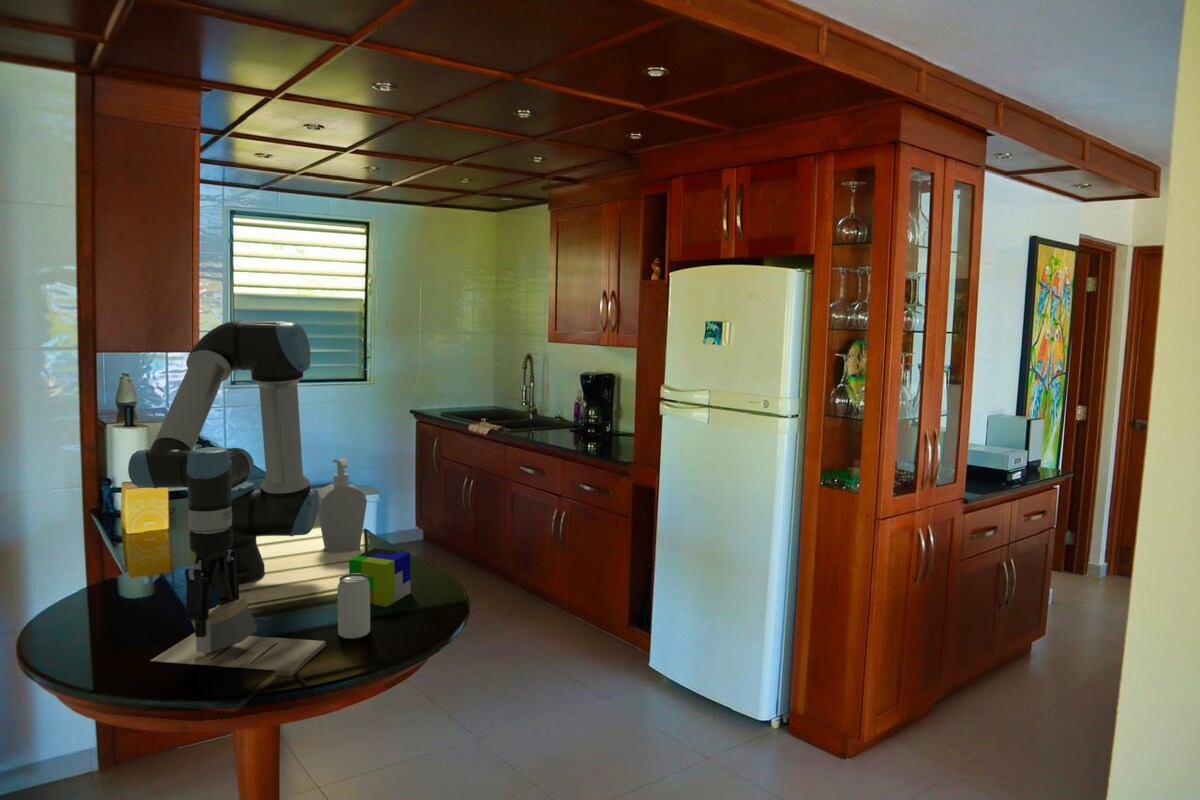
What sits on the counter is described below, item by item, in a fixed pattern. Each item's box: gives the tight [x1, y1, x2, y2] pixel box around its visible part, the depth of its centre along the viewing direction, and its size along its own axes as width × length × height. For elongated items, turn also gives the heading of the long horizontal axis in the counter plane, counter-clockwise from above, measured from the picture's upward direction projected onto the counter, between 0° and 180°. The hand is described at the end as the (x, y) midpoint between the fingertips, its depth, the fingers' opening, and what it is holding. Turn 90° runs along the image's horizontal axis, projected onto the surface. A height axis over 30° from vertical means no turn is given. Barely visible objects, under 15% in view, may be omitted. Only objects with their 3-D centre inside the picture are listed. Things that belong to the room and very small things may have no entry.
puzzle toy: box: [348, 547, 411, 608], centre depth 192 cm, size 10×10×10 cm
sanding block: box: [190, 597, 258, 654], centre depth 158 cm, size 8×6×7 cm
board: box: [149, 632, 327, 677], centre depth 158 cm, size 28×14×1 cm, turn 83°
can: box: [336, 573, 371, 640], centre depth 170 cm, size 6×6×12 cm
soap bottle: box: [317, 458, 368, 554], centre depth 228 cm, size 12×10×26 cm
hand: (214, 644), depth 159 cm, fingers closed on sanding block, 6 cm apart
